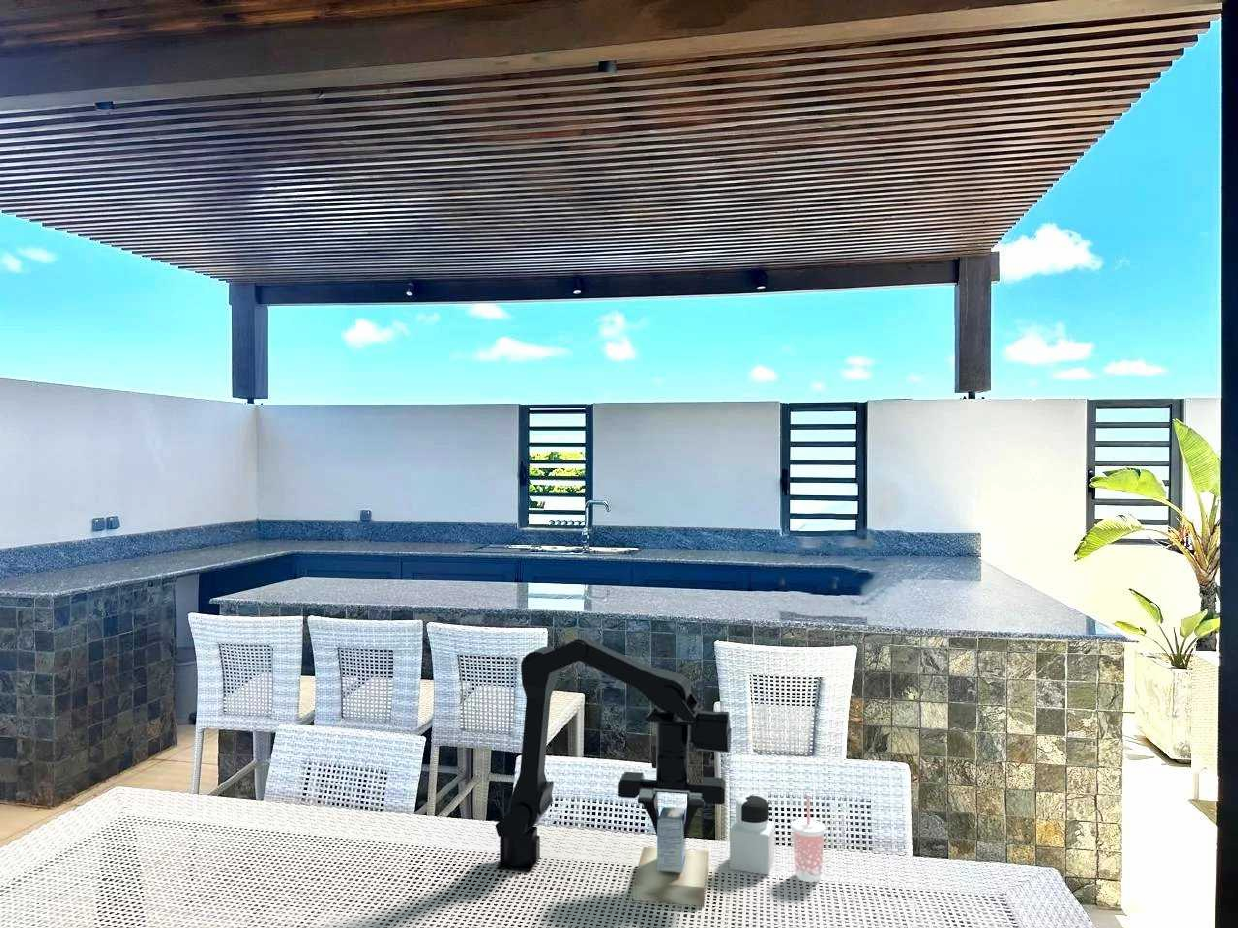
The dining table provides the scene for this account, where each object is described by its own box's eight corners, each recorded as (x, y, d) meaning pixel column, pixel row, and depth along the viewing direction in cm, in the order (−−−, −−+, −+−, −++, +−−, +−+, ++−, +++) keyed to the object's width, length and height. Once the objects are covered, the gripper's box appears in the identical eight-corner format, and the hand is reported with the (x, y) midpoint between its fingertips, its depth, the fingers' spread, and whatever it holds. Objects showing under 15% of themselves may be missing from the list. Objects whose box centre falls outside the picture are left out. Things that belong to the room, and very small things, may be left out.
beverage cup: (827, 885, 140) (826, 804, 141) (791, 882, 142) (791, 801, 142) (825, 870, 146) (824, 792, 147) (791, 866, 148) (790, 789, 148)
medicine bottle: (774, 859, 151) (774, 794, 151) (768, 875, 144) (768, 808, 145) (737, 853, 153) (736, 790, 154) (729, 869, 146) (729, 803, 147)
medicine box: (682, 873, 137) (683, 820, 138) (656, 871, 137) (657, 818, 138) (685, 857, 144) (686, 807, 145) (660, 855, 145) (662, 805, 146)
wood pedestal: (633, 899, 135) (633, 881, 135) (643, 863, 149) (643, 846, 149) (704, 905, 133) (704, 887, 133) (708, 868, 147) (708, 851, 147)
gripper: (726, 737, 149) (726, 822, 148) (627, 731, 152) (626, 815, 151) (724, 755, 138) (724, 848, 137) (618, 749, 141) (617, 839, 140)
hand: (671, 836), depth 141 cm, fingers closed on medicine box, 4 cm apart
